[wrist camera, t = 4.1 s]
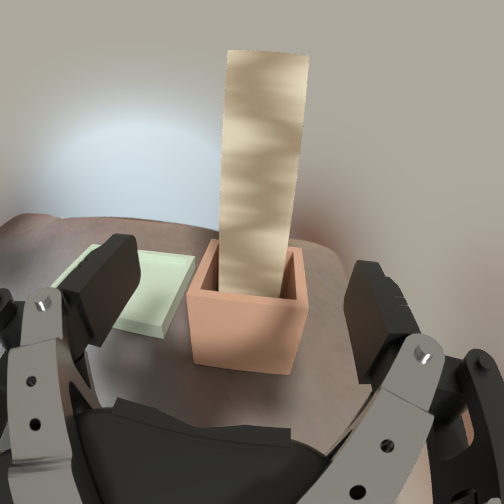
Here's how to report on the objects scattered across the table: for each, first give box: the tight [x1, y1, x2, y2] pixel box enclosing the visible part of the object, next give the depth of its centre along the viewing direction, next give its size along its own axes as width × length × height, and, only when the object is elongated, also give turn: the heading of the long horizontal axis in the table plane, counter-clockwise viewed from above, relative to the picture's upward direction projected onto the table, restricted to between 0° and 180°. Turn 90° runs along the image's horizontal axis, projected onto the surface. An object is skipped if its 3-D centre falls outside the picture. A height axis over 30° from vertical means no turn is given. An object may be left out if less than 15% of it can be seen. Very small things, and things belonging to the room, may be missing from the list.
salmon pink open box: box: [186, 239, 309, 375], centre depth 21 cm, size 7×7×7 cm
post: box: [219, 50, 309, 298], centre depth 18 cm, size 4×4×20 cm
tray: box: [50, 244, 195, 339], centre depth 27 cm, size 14×11×2 cm
